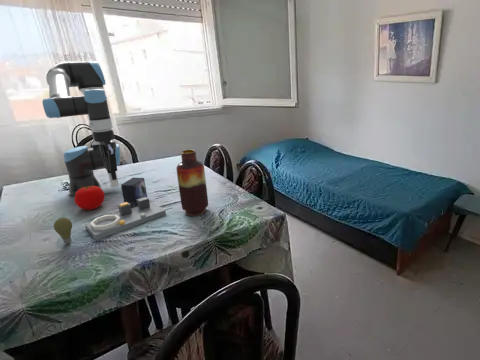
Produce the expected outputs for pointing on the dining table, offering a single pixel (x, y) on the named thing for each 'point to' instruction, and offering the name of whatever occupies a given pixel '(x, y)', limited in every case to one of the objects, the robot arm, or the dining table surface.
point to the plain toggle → (143, 203)
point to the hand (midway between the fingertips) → (115, 186)
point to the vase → (192, 184)
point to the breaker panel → (122, 221)
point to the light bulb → (63, 229)
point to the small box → (133, 190)
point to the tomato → (89, 197)
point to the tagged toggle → (124, 208)
